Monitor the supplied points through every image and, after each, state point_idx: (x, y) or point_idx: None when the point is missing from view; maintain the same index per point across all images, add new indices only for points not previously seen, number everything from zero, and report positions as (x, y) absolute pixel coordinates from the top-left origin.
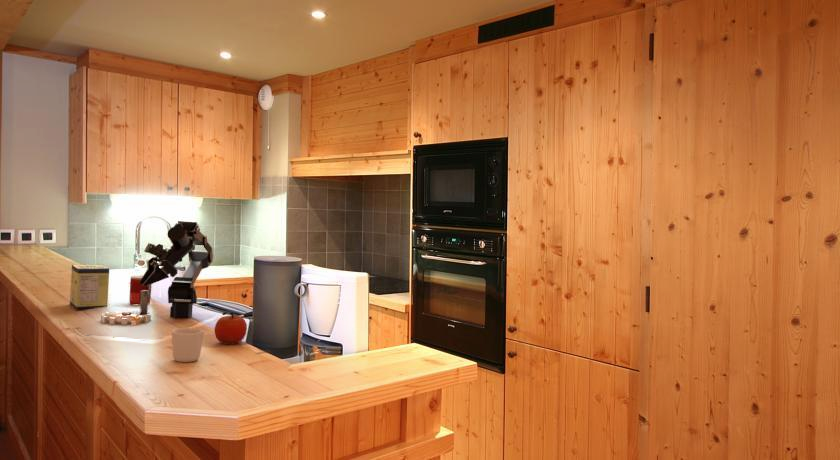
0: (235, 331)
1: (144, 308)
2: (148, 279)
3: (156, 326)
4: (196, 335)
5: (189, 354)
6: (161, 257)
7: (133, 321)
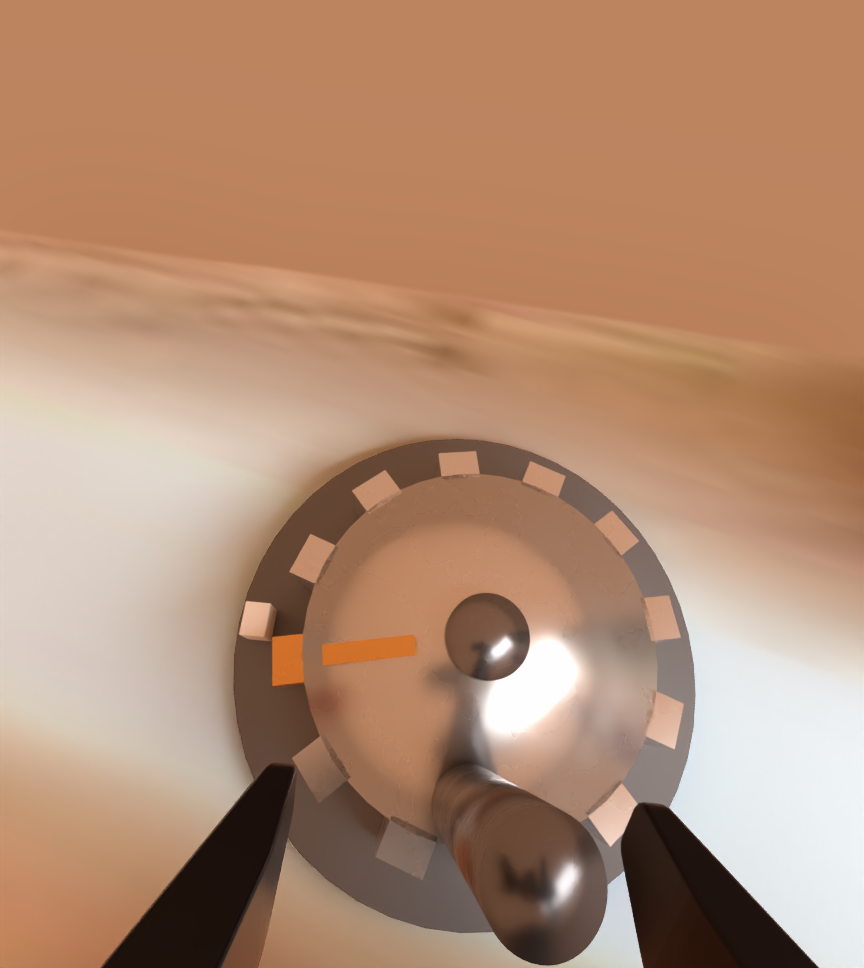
0: None
1: (441, 809)
2: (152, 907)
3: None
4: None
5: None
6: None
7: (246, 613)
